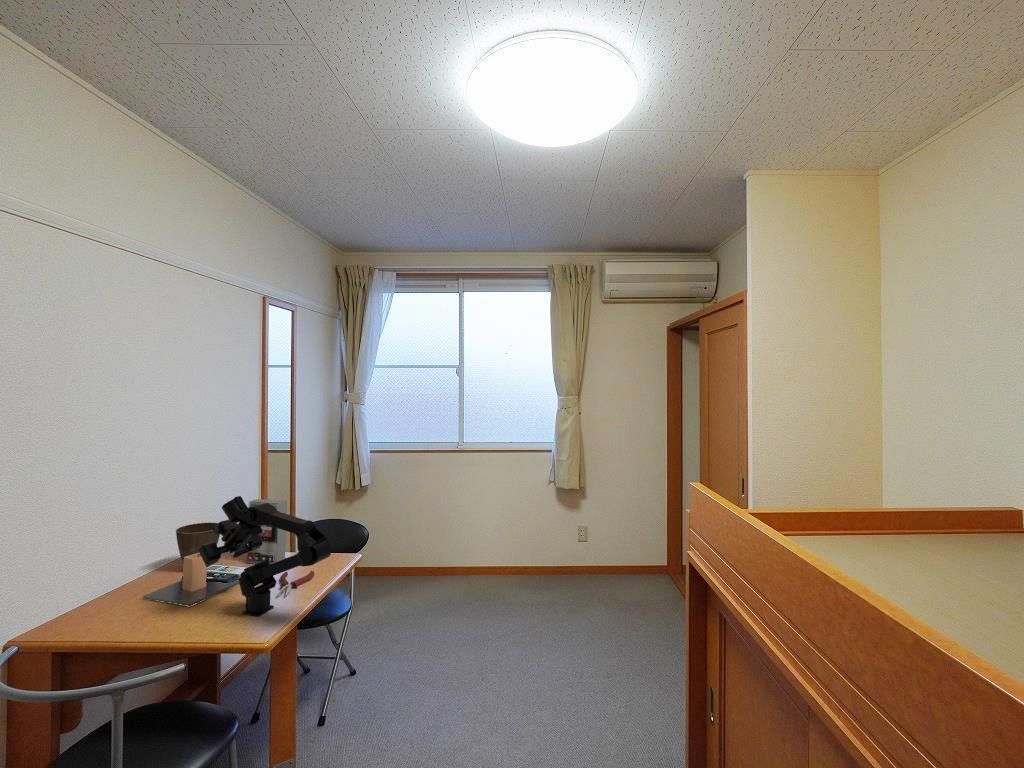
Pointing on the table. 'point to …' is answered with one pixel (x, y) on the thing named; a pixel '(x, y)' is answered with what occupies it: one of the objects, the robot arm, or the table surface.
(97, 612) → the table surface
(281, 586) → the pliers
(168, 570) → the table surface
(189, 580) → the sleeve
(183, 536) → the plant pot
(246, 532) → the robot arm
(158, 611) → the table surface
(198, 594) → the plate
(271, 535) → the grey electrical device
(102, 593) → the table surface
